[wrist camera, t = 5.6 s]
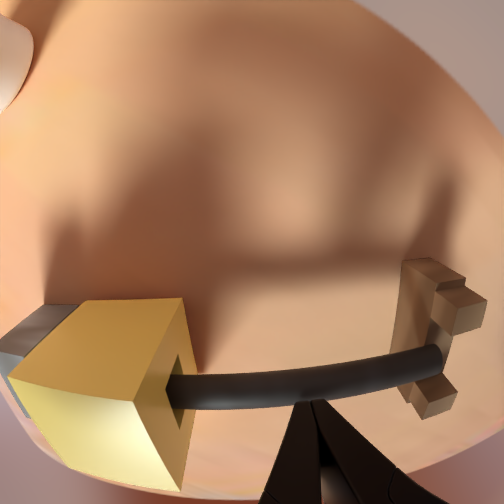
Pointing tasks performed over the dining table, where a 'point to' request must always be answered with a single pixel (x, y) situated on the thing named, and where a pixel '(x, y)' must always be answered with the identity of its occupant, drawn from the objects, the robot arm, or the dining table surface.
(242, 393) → the cord fixture
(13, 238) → the dining table surface
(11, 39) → the drinking glass
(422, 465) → the dining table surface
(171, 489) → the sleeve
